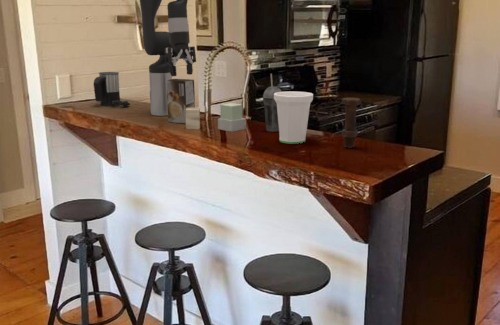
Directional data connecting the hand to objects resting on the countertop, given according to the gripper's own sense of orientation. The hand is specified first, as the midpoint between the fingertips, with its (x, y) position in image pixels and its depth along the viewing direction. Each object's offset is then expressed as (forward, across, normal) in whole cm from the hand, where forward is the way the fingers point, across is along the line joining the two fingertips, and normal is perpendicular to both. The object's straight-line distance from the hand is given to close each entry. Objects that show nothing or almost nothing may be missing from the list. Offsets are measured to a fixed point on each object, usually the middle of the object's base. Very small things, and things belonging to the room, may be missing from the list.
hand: (181, 75), depth 199 cm
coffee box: (+18, 0, -2) cm, 18 cm away
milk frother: (+15, -10, -52) cm, 55 cm away
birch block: (+18, +7, +10) cm, 22 cm away
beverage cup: (+20, -7, +36) cm, 42 cm away
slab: (+19, 0, +22) cm, 30 cm away
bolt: (+22, 0, +69) cm, 72 cm away
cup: (+21, +3, +50) cm, 55 cm away
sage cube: (+15, 0, +23) cm, 27 cm away
